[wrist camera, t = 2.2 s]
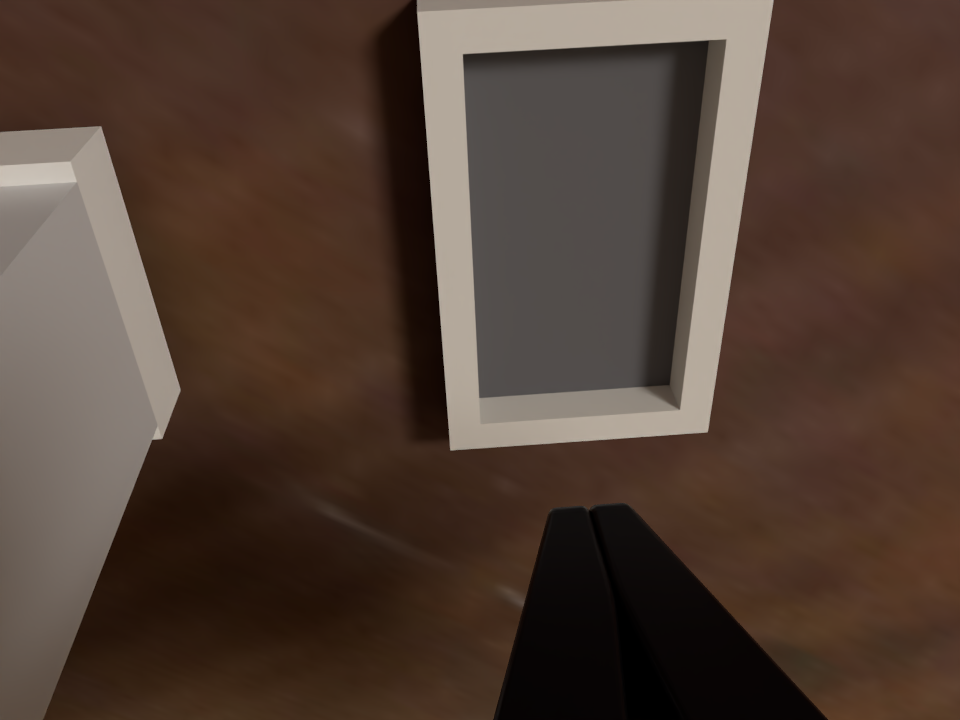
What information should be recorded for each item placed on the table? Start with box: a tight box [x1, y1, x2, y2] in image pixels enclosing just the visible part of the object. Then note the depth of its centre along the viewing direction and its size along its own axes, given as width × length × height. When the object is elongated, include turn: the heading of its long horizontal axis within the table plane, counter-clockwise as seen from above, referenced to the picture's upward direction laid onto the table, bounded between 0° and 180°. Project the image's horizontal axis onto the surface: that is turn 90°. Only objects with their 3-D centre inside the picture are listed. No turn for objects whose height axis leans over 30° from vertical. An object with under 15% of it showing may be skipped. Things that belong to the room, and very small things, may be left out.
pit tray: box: [417, 0, 774, 450], centre depth 14 cm, size 8×5×1 cm, turn 2°
